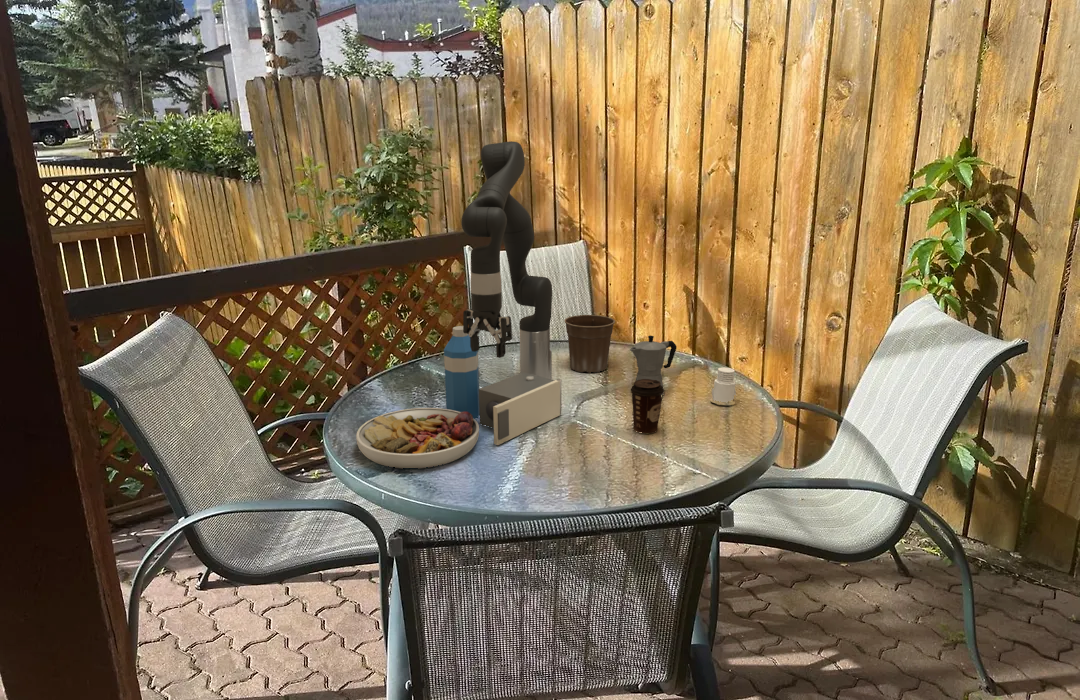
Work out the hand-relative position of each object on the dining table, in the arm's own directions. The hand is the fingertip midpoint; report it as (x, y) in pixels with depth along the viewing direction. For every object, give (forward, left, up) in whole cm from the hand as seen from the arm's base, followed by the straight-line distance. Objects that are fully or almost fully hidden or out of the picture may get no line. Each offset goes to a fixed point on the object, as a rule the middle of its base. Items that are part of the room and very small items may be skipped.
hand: (487, 353), depth 191 cm
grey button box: (-13, -2, -22) cm, 26 cm away
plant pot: (-62, -13, -22) cm, 67 cm away
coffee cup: (-28, +29, -22) cm, 47 cm away
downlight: (-59, +36, -22) cm, 73 cm away
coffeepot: (-53, +16, -22) cm, 60 cm away
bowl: (+16, -10, -23) cm, 29 cm away
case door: (-10, +6, -22) cm, 24 cm away
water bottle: (-6, -16, -22) cm, 28 cm away
